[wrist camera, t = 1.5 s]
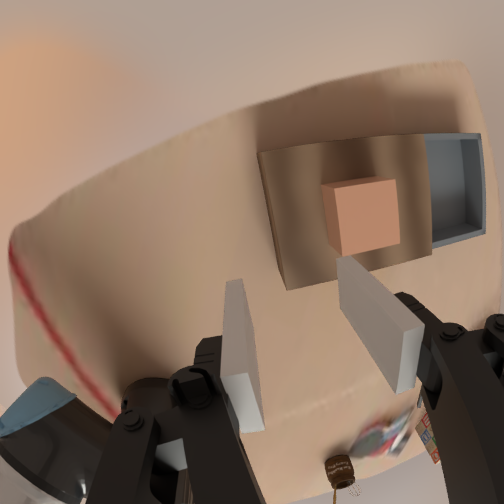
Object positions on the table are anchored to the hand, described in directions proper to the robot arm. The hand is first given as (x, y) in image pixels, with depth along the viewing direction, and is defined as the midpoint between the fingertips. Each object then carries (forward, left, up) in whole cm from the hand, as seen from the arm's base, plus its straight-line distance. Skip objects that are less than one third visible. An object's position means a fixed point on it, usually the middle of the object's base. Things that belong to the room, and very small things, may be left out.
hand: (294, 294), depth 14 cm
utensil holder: (+7, -56, -21) cm, 60 cm away
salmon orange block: (+9, 0, -15) cm, 17 cm away
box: (+25, 0, -21) cm, 32 cm away
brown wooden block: (+10, 0, -21) cm, 23 cm away
